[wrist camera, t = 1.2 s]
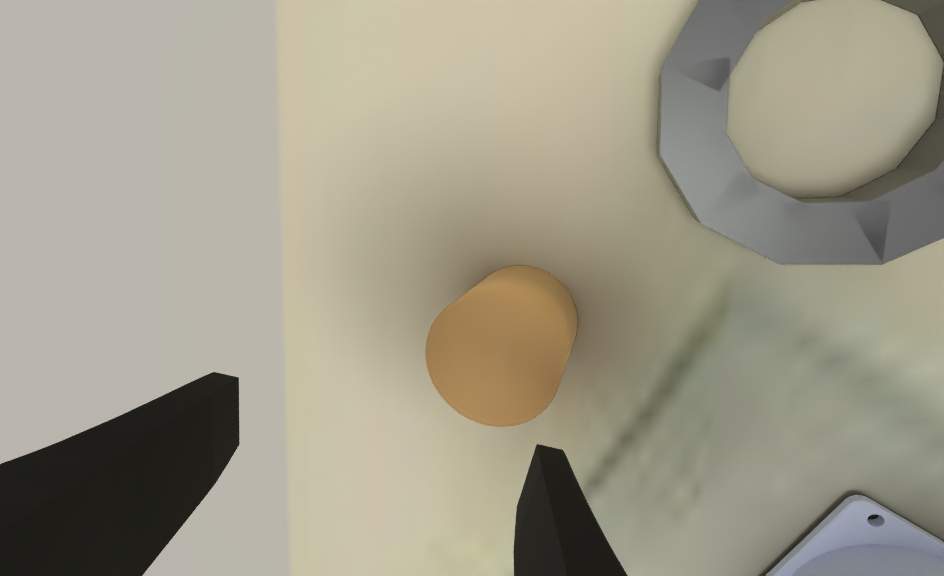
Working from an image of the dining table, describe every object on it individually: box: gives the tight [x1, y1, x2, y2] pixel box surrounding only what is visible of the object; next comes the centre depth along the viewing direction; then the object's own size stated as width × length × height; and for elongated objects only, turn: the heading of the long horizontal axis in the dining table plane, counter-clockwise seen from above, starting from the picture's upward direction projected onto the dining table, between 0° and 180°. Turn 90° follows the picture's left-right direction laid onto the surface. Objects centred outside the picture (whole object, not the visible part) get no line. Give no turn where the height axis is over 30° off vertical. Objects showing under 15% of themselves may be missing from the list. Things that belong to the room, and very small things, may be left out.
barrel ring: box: [657, 0, 944, 265], centre depth 15 cm, size 10×10×2 cm
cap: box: [426, 266, 578, 427], centre depth 18 cm, size 5×5×5 cm
